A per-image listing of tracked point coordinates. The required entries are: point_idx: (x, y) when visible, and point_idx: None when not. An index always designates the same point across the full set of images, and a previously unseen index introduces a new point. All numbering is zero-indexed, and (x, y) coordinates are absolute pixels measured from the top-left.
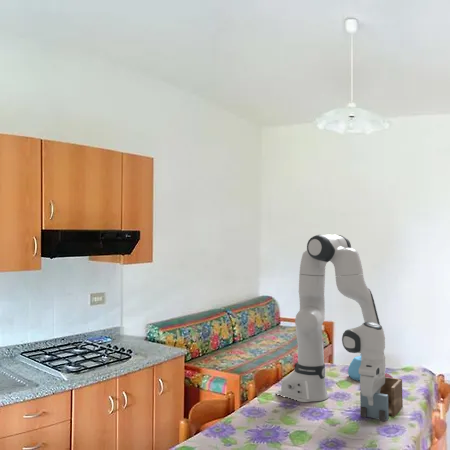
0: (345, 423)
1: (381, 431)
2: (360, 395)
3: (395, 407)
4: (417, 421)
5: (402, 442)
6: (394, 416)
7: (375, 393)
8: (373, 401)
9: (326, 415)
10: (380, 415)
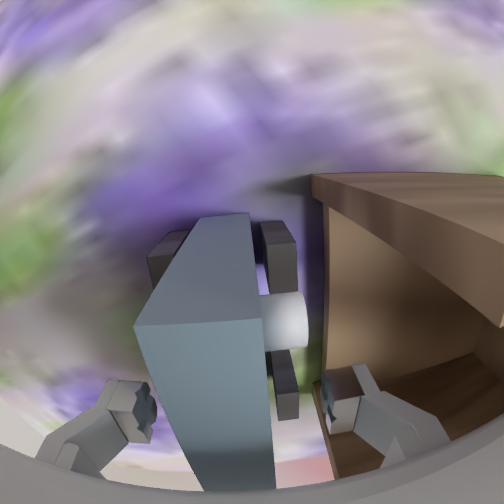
0: (14, 205)
1: (73, 390)
2: (154, 294)
3: None
4: (303, 458)
5: None
6: (312, 394)
7: (238, 479)
8: (129, 435)
9: (59, 36)
10: None
